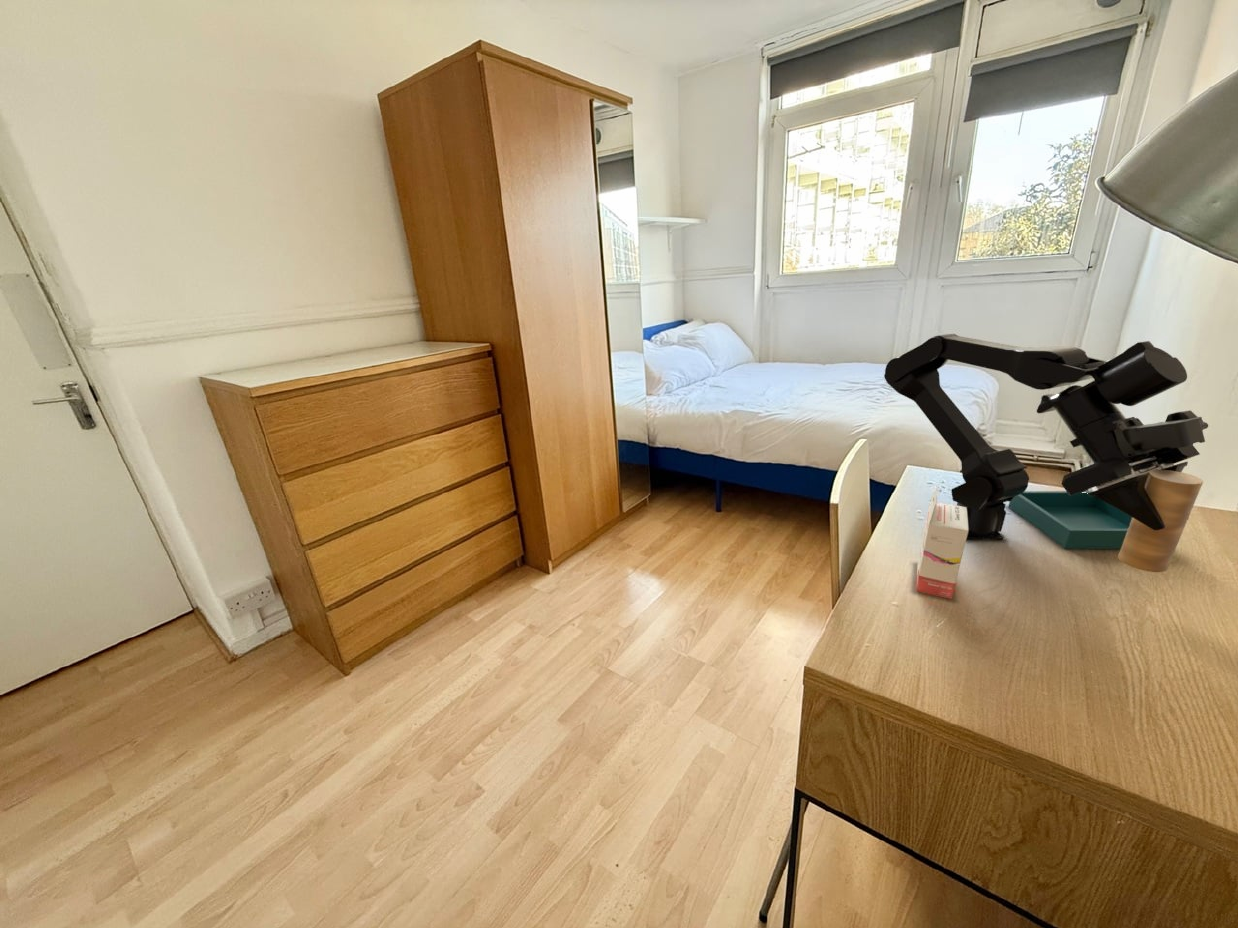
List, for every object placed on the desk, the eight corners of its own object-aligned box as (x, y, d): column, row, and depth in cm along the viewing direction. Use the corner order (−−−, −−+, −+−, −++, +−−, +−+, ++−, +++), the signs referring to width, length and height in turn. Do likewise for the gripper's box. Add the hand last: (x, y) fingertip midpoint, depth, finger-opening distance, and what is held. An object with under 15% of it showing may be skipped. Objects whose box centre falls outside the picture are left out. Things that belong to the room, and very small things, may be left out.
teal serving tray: (1064, 548, 83) (1070, 530, 82) (1008, 507, 98) (1012, 491, 96) (1168, 549, 81) (1176, 531, 80) (1095, 507, 96) (1100, 490, 94)
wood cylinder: (1137, 572, 66) (1171, 484, 61) (1108, 553, 71) (1138, 469, 66) (1177, 572, 66) (1215, 484, 61) (1146, 553, 70) (1179, 469, 65)
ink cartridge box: (953, 600, 73) (974, 512, 67) (915, 591, 75) (932, 505, 70) (952, 571, 79) (971, 488, 74) (917, 563, 82) (932, 482, 76)
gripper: (1116, 402, 60) (1208, 520, 55) (1205, 383, 66) (1296, 488, 60) (1031, 444, 70) (1101, 547, 64) (1114, 424, 76) (1185, 518, 70)
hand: (1172, 525), depth 64 cm, fingers closed on wood cylinder, 5 cm apart
